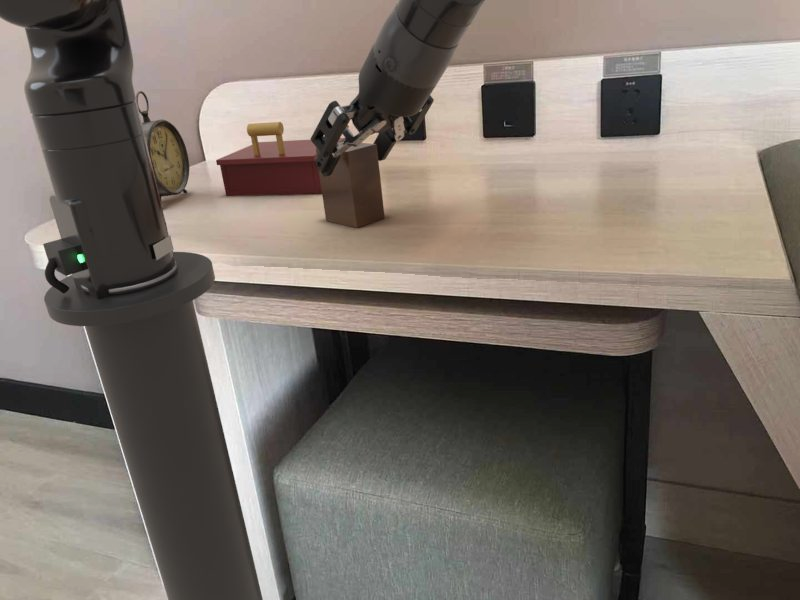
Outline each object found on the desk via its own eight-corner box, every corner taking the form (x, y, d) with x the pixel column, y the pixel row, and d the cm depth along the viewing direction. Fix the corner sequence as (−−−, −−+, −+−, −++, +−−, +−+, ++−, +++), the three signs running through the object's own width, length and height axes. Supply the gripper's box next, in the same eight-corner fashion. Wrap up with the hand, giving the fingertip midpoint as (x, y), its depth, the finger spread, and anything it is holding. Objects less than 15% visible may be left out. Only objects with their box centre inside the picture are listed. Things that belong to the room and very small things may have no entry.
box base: (321, 193, 98) (316, 160, 96) (226, 196, 103) (219, 164, 101) (350, 173, 109) (346, 143, 107) (263, 176, 114) (258, 147, 112)
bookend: (357, 227, 80) (347, 151, 77) (325, 220, 85) (315, 148, 81) (384, 217, 83) (376, 143, 80) (353, 211, 87) (344, 141, 84)
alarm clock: (164, 211, 98) (136, 94, 91) (130, 212, 99) (100, 97, 92) (198, 191, 108) (175, 85, 101) (167, 193, 109) (142, 88, 102)
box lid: (314, 161, 96) (308, 122, 94) (216, 165, 100) (209, 128, 98) (346, 142, 107) (342, 107, 105) (258, 147, 112) (252, 113, 110)
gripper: (435, 25, 74) (377, 128, 86) (333, 38, 65) (284, 151, 77) (476, 76, 72) (410, 173, 84) (377, 96, 63) (319, 201, 76)
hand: (350, 162), depth 81 cm, fingers open, 8 cm apart
